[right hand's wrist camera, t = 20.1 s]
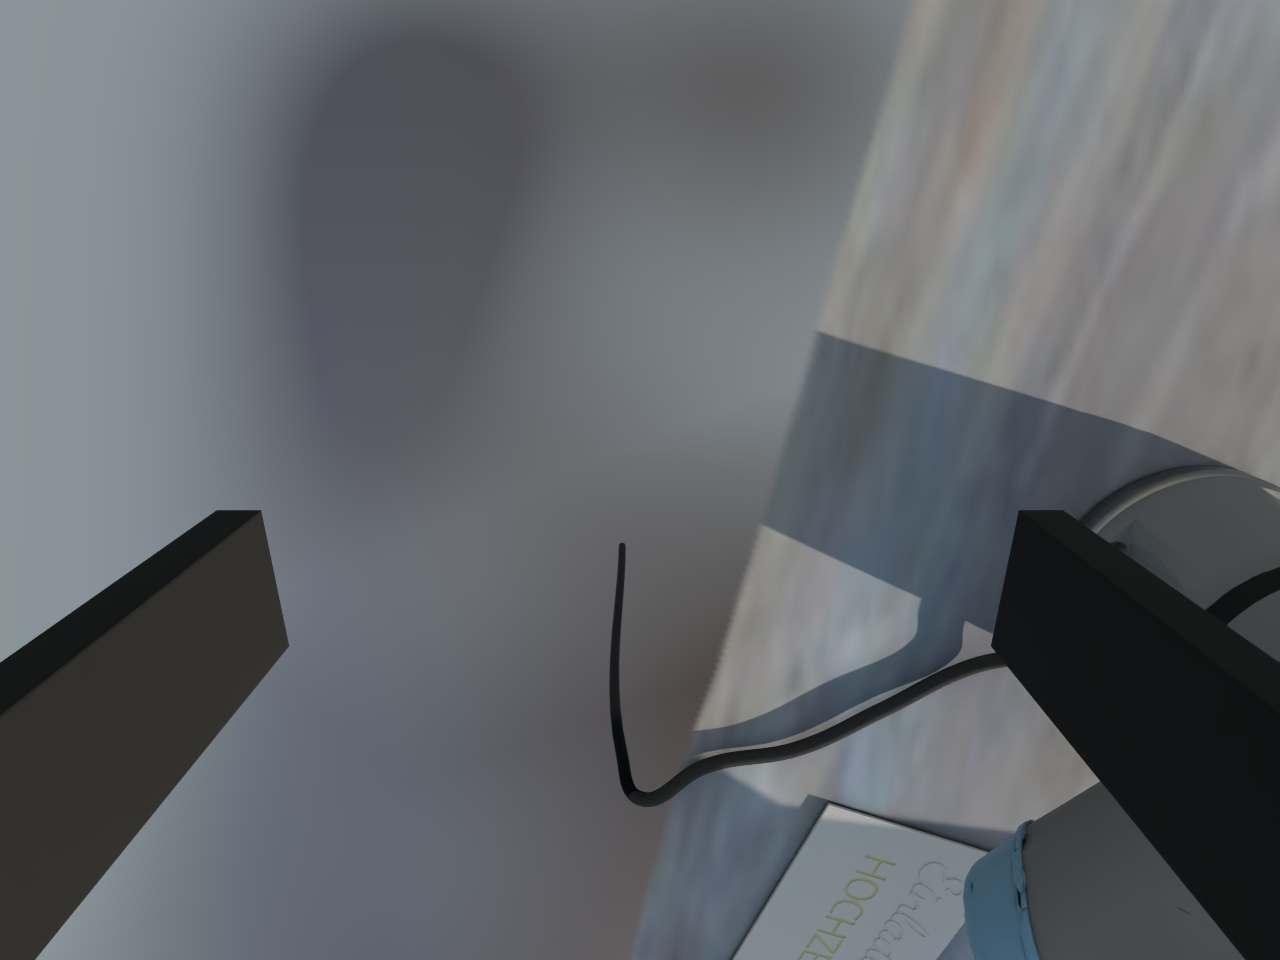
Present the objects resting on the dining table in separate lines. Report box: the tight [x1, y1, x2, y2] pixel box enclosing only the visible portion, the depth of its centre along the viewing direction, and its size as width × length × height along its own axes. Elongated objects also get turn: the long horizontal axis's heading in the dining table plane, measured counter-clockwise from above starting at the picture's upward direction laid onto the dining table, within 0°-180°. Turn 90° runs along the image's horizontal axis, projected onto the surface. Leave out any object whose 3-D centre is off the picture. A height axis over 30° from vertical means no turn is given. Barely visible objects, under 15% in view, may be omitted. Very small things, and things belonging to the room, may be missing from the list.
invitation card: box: [732, 803, 989, 960], centre depth 55 cm, size 21×1×15 cm
